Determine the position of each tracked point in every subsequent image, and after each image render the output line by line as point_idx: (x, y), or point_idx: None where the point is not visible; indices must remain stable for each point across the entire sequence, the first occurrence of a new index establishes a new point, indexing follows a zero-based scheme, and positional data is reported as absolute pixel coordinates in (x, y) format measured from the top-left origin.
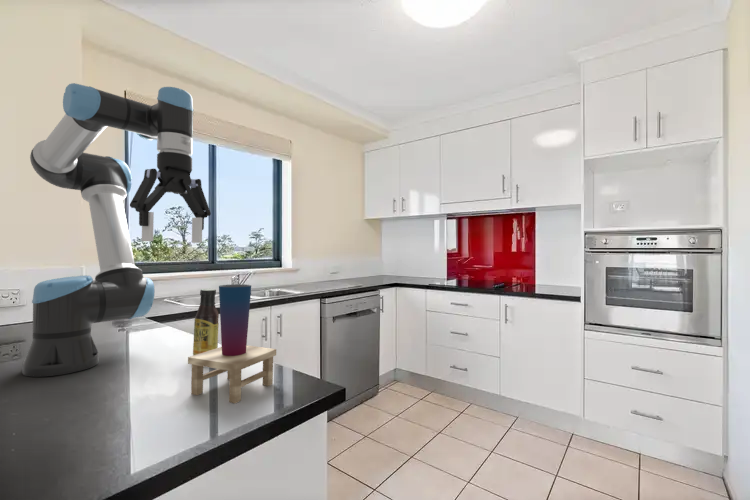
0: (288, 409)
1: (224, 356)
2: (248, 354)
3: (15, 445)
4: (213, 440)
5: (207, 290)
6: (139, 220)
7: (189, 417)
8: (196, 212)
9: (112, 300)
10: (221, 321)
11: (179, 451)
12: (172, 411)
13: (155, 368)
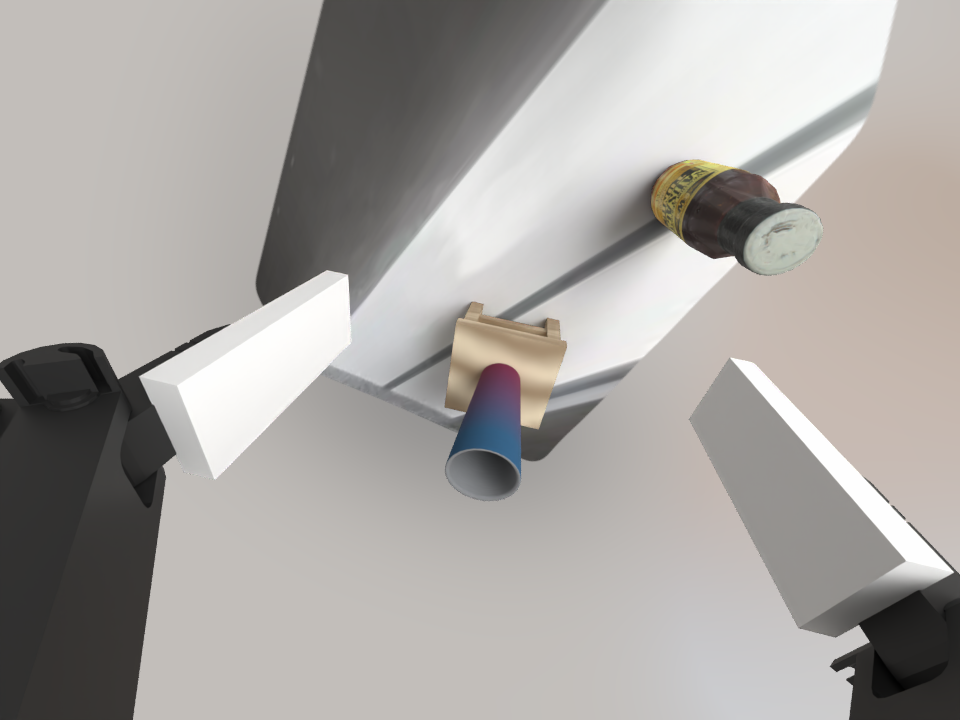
0: None
1: (477, 375)
2: None
3: (282, 201)
4: (381, 390)
5: (746, 258)
6: (185, 348)
7: (411, 343)
8: (902, 695)
9: None
10: (469, 405)
11: (355, 373)
12: (416, 313)
13: (595, 109)
